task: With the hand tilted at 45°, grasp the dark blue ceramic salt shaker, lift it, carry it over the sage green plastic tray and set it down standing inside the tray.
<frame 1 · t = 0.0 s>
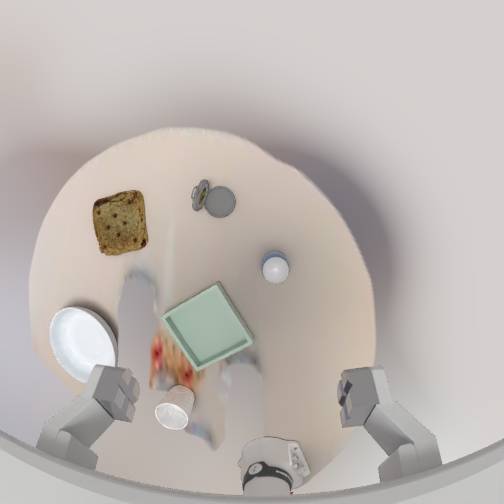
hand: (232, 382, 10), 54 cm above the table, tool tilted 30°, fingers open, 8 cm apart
shaker: (274, 262, 65), on the table
tray: (208, 325, 67), on the table
pastry: (121, 222, 66), on the table
serving bowl: (93, 338, 69), on the table
white cup: (182, 395, 69), on the table
pocket watch: (215, 199, 64), on the table
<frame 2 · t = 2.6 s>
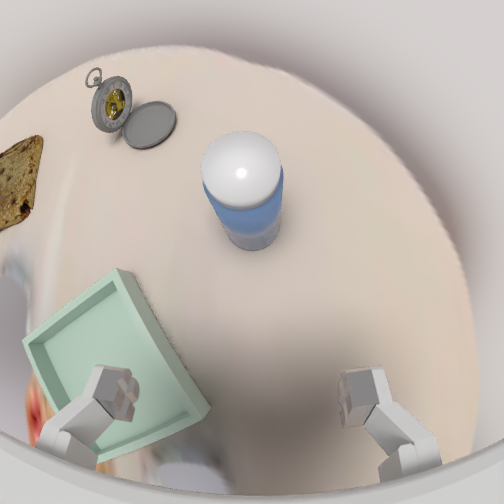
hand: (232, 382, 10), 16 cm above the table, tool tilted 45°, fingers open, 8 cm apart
shaker: (252, 224, 28), on the table
tray: (112, 373, 26), on the table
pastry: (11, 186, 33), on the table
pocket watch: (143, 125, 32), on the table
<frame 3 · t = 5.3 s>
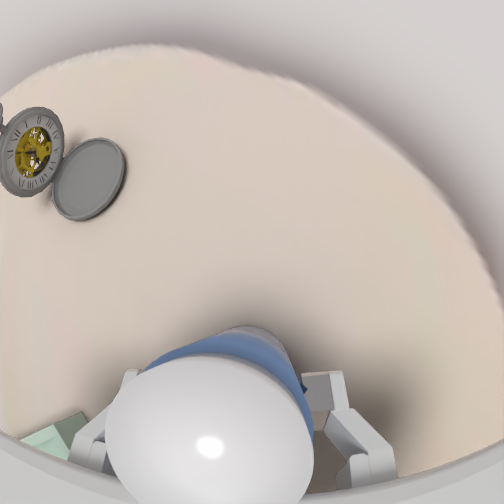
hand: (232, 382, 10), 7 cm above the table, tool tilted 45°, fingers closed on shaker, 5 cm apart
shaker: (246, 367, 17), on the table, touching gripper
pocket watch: (82, 177, 20), on the table
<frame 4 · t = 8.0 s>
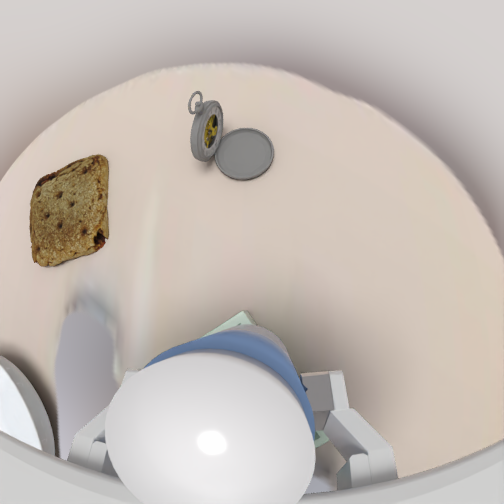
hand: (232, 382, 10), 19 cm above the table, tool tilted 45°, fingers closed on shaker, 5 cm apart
shaker: (247, 366, 17), point 13 cm above the table, touching gripper
tray: (226, 408, 28), on the table
pastry: (71, 211, 35), on the table
serving bowl: (24, 414, 30), on the table
pocket watch: (235, 153, 34), on the table
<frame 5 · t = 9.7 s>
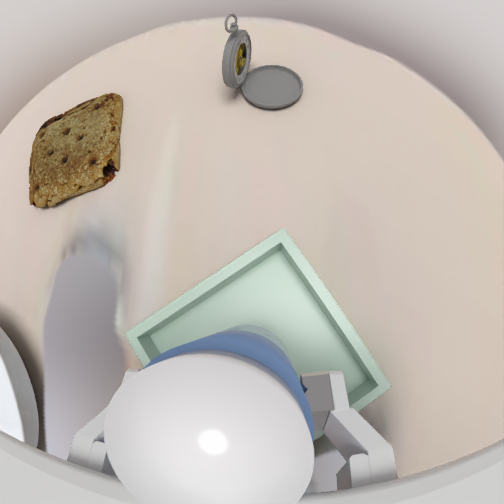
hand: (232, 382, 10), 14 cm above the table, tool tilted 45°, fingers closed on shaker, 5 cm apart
shaker: (246, 366, 17), point 8 cm above the table, touching gripper
tray: (258, 361, 24), on the table
pastry: (77, 150, 31), on the table
serving bowl: (6, 388, 25), on the table
pocket watch: (262, 88, 30), on the table
when the fingers open (9 cm above the table, at t = 11.0 s): shaker drops 1 cm, resting on tray.
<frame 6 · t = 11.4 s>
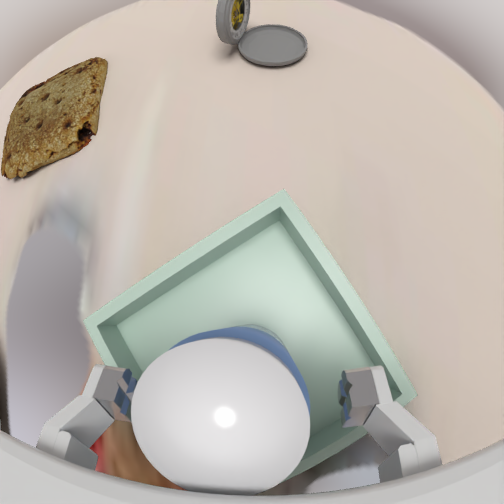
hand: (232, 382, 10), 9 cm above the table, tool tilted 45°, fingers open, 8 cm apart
shaker: (249, 363, 18), point 1 cm above the table, touching tray
tray: (249, 361, 19), on the table
pastry: (55, 118, 25), on the table
pocket watch: (261, 47, 25), on the table
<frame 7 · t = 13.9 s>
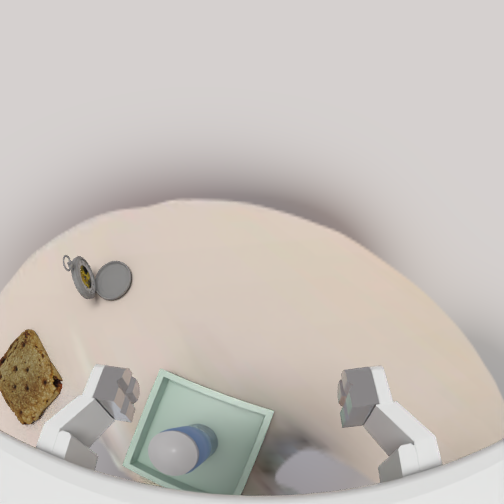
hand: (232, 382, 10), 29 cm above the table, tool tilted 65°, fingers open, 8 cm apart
shaker: (198, 441, 32), point 1 cm above the table, touching tray
tray: (199, 441, 33), on the table
pastry: (28, 377, 37), on the table
pocket watch: (108, 283, 45), on the table
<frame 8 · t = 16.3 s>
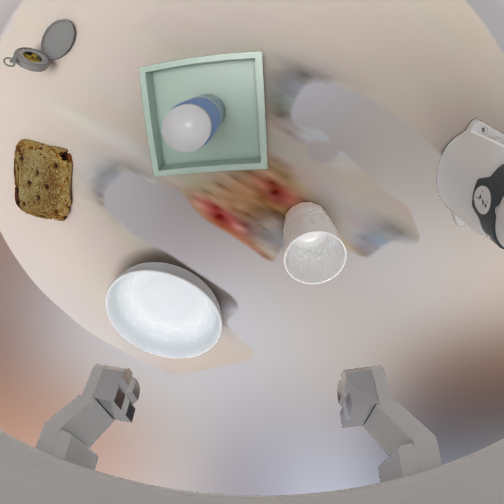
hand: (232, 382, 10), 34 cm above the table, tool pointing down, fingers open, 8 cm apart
shaker: (206, 112, 35), point 1 cm above the table, touching tray
tray: (207, 111, 36), on the table
pastry: (43, 178, 42), on the table
serving bowl: (170, 294, 54), on the table
white cup: (305, 221, 45), on the table
pocket watch: (56, 44, 29), on the table
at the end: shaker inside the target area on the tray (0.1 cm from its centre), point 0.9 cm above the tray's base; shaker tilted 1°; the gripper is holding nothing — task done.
